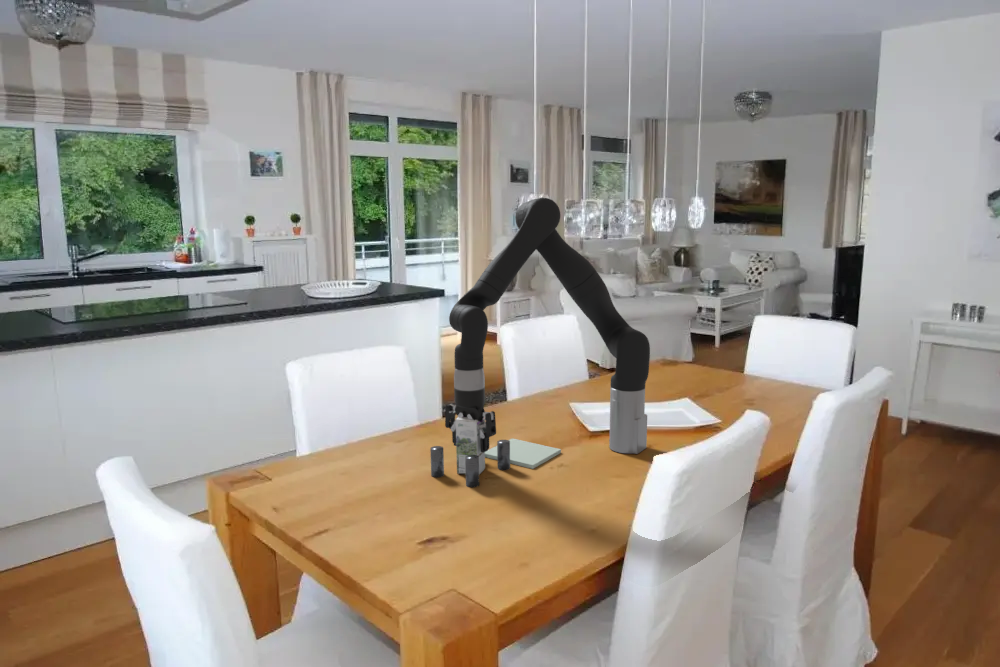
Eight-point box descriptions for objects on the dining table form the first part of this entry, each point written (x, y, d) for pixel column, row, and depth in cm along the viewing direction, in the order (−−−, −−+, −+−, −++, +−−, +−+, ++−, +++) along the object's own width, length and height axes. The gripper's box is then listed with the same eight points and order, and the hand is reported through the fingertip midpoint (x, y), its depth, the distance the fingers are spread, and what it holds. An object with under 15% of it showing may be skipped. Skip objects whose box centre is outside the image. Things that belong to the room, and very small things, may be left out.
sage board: (561, 452, 189) (561, 449, 189) (532, 468, 178) (532, 465, 178) (512, 441, 198) (512, 438, 198) (482, 456, 187) (482, 452, 187)
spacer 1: (446, 474, 175) (446, 447, 174) (438, 478, 172) (437, 451, 171) (436, 471, 177) (436, 445, 176) (428, 475, 174) (427, 448, 173)
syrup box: (485, 468, 179) (484, 413, 176) (477, 477, 173) (476, 420, 170) (465, 466, 180) (463, 411, 178) (456, 474, 175) (454, 418, 172)
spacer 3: (512, 467, 179) (512, 441, 178) (505, 471, 177) (505, 444, 175) (502, 464, 181) (502, 438, 180) (495, 468, 178) (494, 442, 177)
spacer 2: (481, 484, 169) (481, 456, 167) (473, 488, 166) (473, 460, 165) (471, 481, 171) (470, 453, 169) (463, 485, 168) (462, 457, 167)
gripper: (501, 386, 171) (502, 449, 174) (456, 378, 180) (457, 438, 183) (483, 393, 165) (484, 458, 168) (437, 384, 174) (439, 447, 177)
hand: (470, 448), depth 176 cm, fingers open, 8 cm apart
